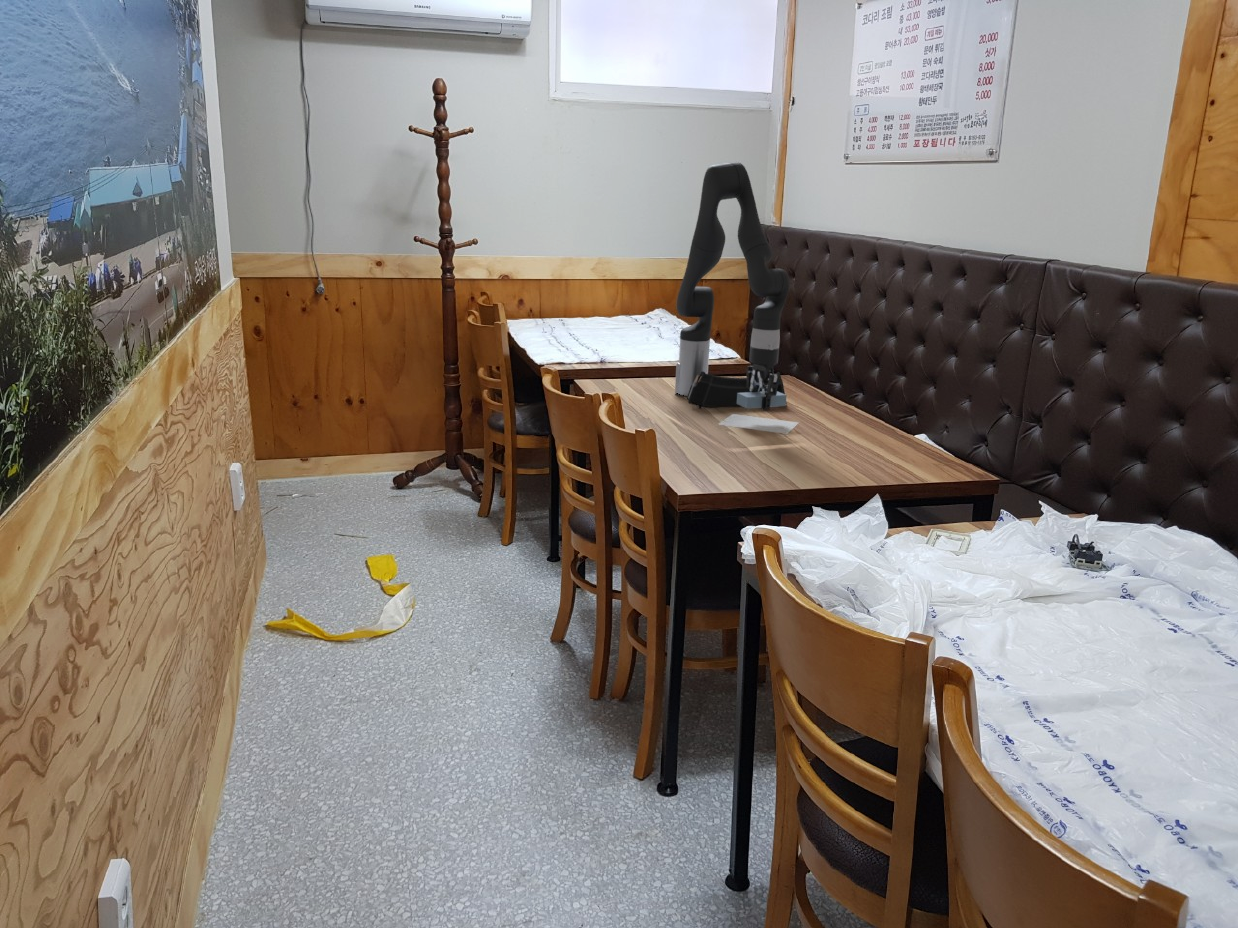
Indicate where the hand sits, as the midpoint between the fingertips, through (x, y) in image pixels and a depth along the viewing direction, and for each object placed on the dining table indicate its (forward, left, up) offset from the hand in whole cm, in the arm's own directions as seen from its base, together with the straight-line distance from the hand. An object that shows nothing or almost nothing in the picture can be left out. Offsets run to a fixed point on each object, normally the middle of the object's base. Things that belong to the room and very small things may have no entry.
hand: (759, 407), depth 239 cm
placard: (+4, +5, +2) cm, 7 cm away
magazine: (-12, +18, -6) cm, 22 cm away
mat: (0, 0, -5) cm, 5 cm away
